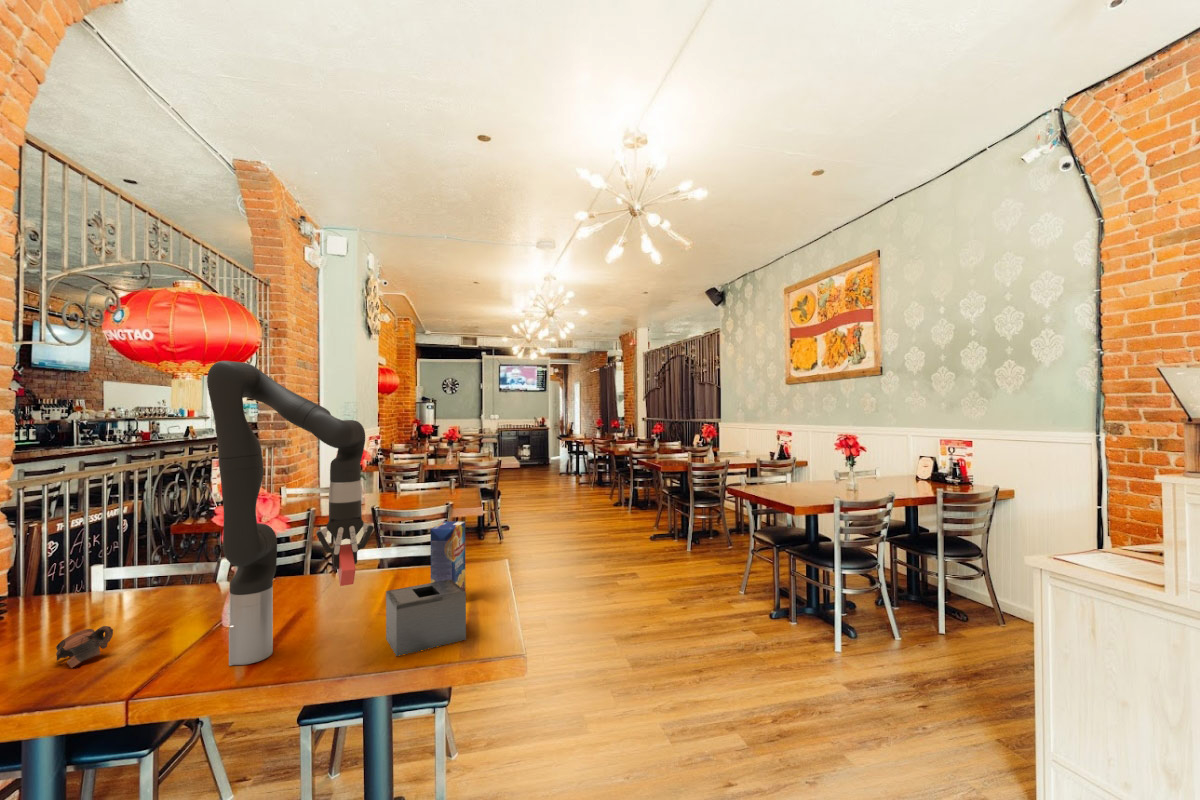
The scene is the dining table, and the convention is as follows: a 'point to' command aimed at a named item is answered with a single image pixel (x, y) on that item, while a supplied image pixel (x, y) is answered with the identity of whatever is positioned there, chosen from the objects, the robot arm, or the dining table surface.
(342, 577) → the red rectangular block
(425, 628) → the grey slotted box
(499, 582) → the dining table surface
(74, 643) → the brown curved piece
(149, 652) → the dining table surface
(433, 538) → the blue tall cardboard box
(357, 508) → the robot arm
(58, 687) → the dining table surface
